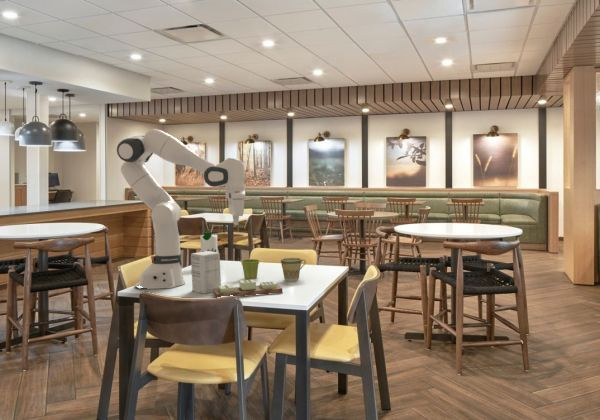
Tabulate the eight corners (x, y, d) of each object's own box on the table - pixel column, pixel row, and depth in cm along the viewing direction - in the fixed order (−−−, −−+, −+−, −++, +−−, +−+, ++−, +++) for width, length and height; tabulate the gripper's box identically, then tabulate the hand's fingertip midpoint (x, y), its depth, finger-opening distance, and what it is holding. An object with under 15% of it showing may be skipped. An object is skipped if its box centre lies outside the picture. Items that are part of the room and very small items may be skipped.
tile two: (242, 290, 210) (241, 282, 210) (239, 287, 216) (239, 280, 216) (256, 289, 212) (255, 281, 212) (253, 286, 218) (252, 279, 218)
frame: (216, 298, 205) (216, 293, 205) (213, 293, 215) (213, 289, 215) (282, 292, 214) (282, 288, 213) (276, 288, 223) (276, 283, 223)
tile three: (263, 292, 213) (262, 284, 213) (259, 289, 219) (259, 282, 219) (276, 290, 215) (276, 283, 215) (273, 288, 221) (273, 281, 220)
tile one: (220, 295, 208) (220, 288, 208) (218, 292, 213) (218, 285, 213) (235, 294, 210) (234, 287, 209) (232, 291, 215) (232, 284, 215)
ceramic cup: (287, 282, 234) (287, 261, 234) (277, 279, 243) (277, 259, 242) (311, 279, 241) (310, 259, 240) (300, 276, 249) (300, 256, 249)
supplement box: (209, 287, 228) (208, 250, 227) (221, 290, 222) (220, 252, 221) (191, 290, 221) (190, 253, 220) (203, 293, 215) (202, 255, 214)
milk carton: (199, 268, 277) (198, 232, 276) (205, 265, 286) (204, 230, 285) (214, 268, 276) (213, 232, 275) (219, 265, 285) (218, 230, 284)
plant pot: (257, 280, 242) (256, 262, 241) (238, 279, 244) (238, 262, 243) (262, 276, 251) (262, 259, 251) (244, 276, 253) (244, 259, 253)
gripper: (225, 193, 235) (225, 223, 235) (231, 195, 215) (232, 227, 216) (238, 193, 236) (239, 222, 237) (246, 194, 217) (246, 226, 218)
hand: (235, 224), depth 226 cm, fingers closed
